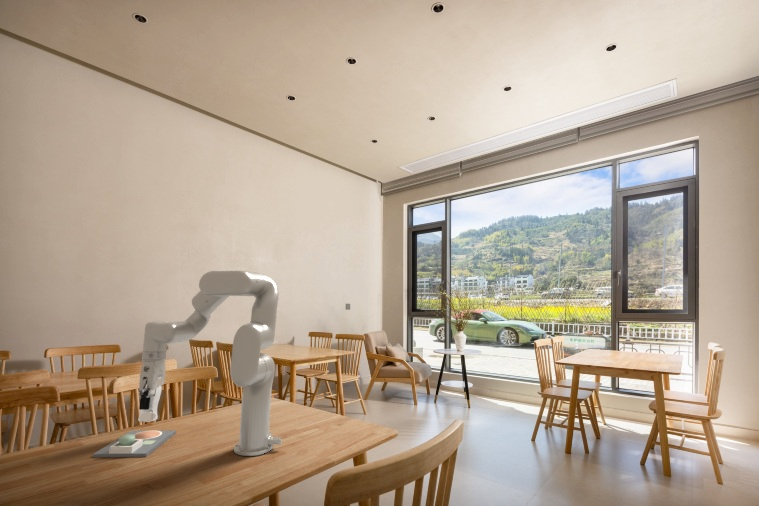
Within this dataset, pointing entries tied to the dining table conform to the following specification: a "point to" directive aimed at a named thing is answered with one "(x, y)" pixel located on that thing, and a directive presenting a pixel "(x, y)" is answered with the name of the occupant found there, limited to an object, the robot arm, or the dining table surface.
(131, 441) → the button
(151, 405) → the beer glass
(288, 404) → the dining table surface
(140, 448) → the picture board
